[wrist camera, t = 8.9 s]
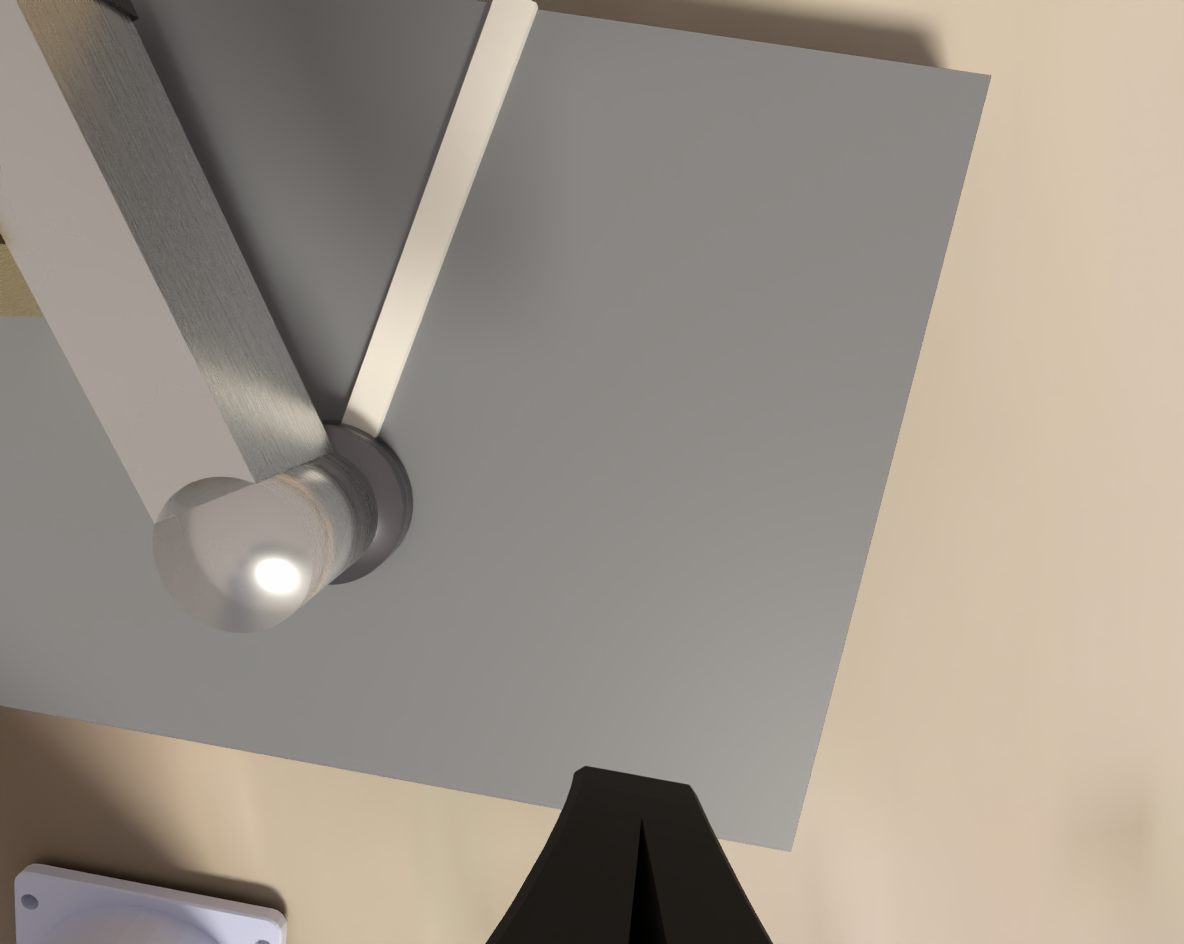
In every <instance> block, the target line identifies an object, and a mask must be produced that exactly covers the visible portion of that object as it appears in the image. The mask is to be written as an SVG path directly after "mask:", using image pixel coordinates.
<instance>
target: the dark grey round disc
mask: <svg viewBox="0 0 1184 944" xmlns="http://www.w3.org/2000/svg"><path fill="white" fill-rule="evenodd" d="M341 422H342V421H337V420H321V423H322V425H323V427H324V429H325V432H326V434H327V436H328V438H329V440H330V442H331V444H332V446H333V449H334V452H336V453H338V454H340V455H342V456H344V457H345V458H347V459H348V460H350V461H351V462H352V463H353V464H354V465H355V466H357V467H358V469H359V470H360V471H361V472H362V473H363V474H364V476H365V477H366V479H367V480H368V482H369V484H370V485H371V487H372V490H373V492H374V495H375V498H376V502H377V508H378V524H377V530H376V533H375V537H374V539H373V541H372V543H371V545H370V547H369V548H368V550H367V551H366V552H365V553H364V555H363V556H362V557H361V558H359V559H358V560H357V561H356V562H355V563H354V564H352V565H351V566H350V567H349V568H347V569H346V570H345V571H344V572H343V573H341V574H340V575H339V576H338V577H337V578H335V579H334V580H333V581H332V582H331V583H329V584H328V585H337V584H344V583H348V582H352V581H355V580H357V579H360V578H362V577H364V576H366V575H367V574H369V573H371V572H372V571H374V570H375V569H376V568H377V567H378V566H380V565H381V564H382V563H383V562H384V561H385V560H386V559H387V558H388V557H389V556H391V555H392V554H393V553H394V552H395V550H396V549H397V548H398V547H399V546H400V544H401V543H402V541H403V540H404V538H405V536H406V534H407V532H408V530H409V527H410V524H411V520H412V515H413V492H412V487H411V483H410V479H409V477H408V474H407V471H406V469H405V467H404V465H403V464H402V462H401V460H400V459H399V457H398V456H397V454H396V453H395V452H394V451H393V450H392V448H391V447H390V446H389V445H388V444H387V443H386V442H384V441H383V440H382V439H381V438H380V437H378V436H377V437H375V438H374V437H373V436H371V435H370V434H369V433H367V432H365V431H363V430H361V429H359V428H356V427H354V426H351V425H348V424H344V423H341Z"/></svg>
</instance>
